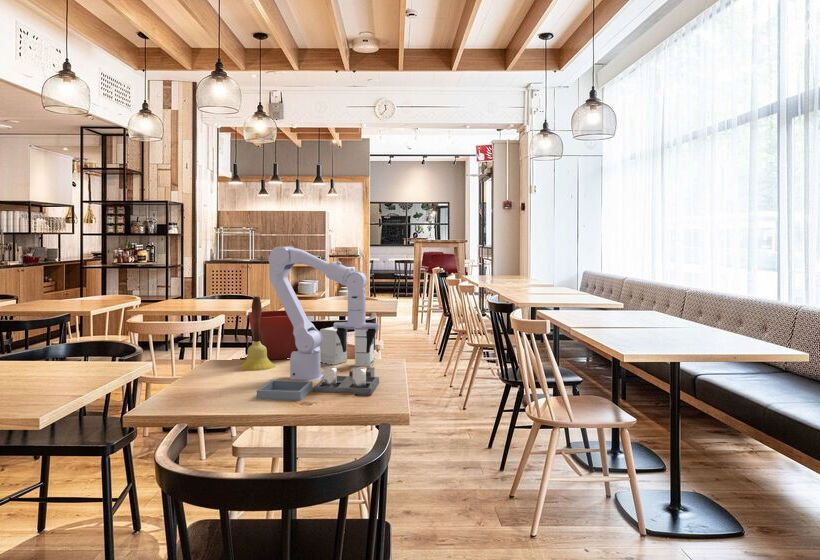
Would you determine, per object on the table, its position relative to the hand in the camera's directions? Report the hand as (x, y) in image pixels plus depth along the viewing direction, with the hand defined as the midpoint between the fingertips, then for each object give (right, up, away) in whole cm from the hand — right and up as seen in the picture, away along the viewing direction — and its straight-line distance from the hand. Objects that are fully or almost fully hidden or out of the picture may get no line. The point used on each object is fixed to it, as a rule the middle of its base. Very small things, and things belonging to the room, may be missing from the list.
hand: (356, 351), depth 194 cm
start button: (+2, -9, +3) cm, 9 cm away
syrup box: (+1, -8, +25) cm, 26 cm away
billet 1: (-7, -10, -13) cm, 18 cm away
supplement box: (-11, -8, +29) cm, 32 cm away
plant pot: (-34, -7, +39) cm, 52 cm away
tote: (-19, -11, -19) cm, 28 cm away
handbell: (-37, -8, +20) cm, 43 cm away
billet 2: (+2, -10, -14) cm, 18 cm away
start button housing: (+2, -9, +3) cm, 10 cm away
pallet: (-2, -10, -9) cm, 14 cm away
